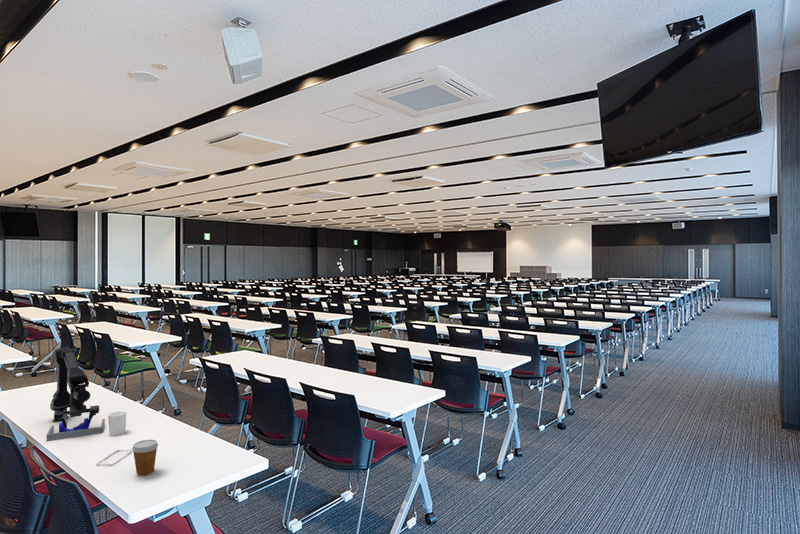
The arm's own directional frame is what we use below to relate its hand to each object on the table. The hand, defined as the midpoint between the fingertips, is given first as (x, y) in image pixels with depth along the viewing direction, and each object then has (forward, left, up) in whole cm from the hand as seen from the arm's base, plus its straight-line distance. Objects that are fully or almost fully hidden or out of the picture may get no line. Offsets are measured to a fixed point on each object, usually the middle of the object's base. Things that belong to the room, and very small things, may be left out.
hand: (77, 428), depth 240 cm
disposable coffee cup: (+68, +30, -2) cm, 74 cm away
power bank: (+46, +18, -2) cm, 50 cm away
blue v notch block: (+2, -1, -1) cm, 2 cm away
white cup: (+12, +18, -2) cm, 22 cm away
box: (+1, 0, -2) cm, 2 cm away
